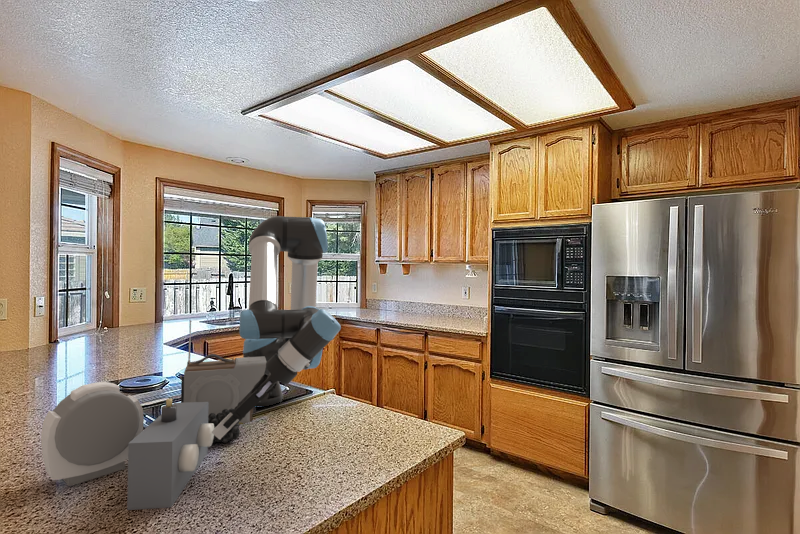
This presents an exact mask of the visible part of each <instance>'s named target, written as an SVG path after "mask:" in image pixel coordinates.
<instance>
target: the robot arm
mask: <svg viewBox="0 0 800 534" xmlns="http://www.w3.org/2000/svg"><path fill="white" fill-rule="evenodd" d="M248 240H249V241H248V251H249V253H250V255H251V262H250V276H249V277H250V281H249V293H248V295H249V297H248V298H249V300H248V309H246V310H245V309H244V310H241V311H240V313H239V335H240V337H241V339H243V340H244V341H243V348H242V349H243V350H242V354H243V357H242V358H244V357H261V356H265V358H266V361H267V362H266V368H265V373H264V375H263V376H262V377H261V379H260V381H259V382H258V383H257V384H256V385H255V386H254V388H253V389H252V390H251V391H250V392H249V393H248V394H247V395H246V396H245V397H244V398H243V400H242V401H241V402H239V403H238V406H236V407H235V409H234V410H233V409H232V408H231V409H230V413H229V414H228V415H227V416H226V417H225V418H224V419H223V420H222V421H221V422H220V423H219V424H218V425H217V426H216V427H215V428H214V429H213V431H212V432H211V433H212V434H214V435H215V436H216V437H217V438H218V439H219V440H220V439H221V438H222V437H223V436H224V435H225V434H226V433H227V432H228V431H229V430H230V429H231V428H232V427H233V426H234V425H235V424H236V423H237V422H238V421H239V420H242V418H244V417H245V416H246V414H247V413H248V412H249V411H250V410H251V409H252V408H253V407H254V406H269V405H273V404H276V403H279V402H280V403H282V402H283V400H284V399H283V397H284V396H283V391H282V388H281V384H283V385H288V384H290V383H291V382H292V381H293V380H294V379H295V378H296V377H297V376H298V373H299V372H301V371H303V370H306V371H307V370H308V369H309V370H310V369H316V368H317V367H319V365H320V363H321V360H322V355H323V349H324V348H325V347H326V346H327V345H328V344H329V343H330V342H331V341H333V340H334V339H335V337H336V336H337V335H338V333H340V331H341V329H342V327H341V326H342V325H341V323H339V322H338V320H337V319H336V318H335V317H334V316H333V315H332V314H331V313H330V312H329V311H327V310H326V309H324V308H320V309H319V308H318V307H316V306H317V290H318V289H317V287H318V268H319V267H318V263H319V262H320V261H321V260H322V259H323V254H326V253H327V252H328V244H329V243H328V233H327V228H326V223H325V221H324V220H323V219H321V218H317V217H308V216H307V217H306V216H283V215H276V216H271V217H269V218H266V219H265V220H263V221H262V222H260V224H258V225H257V226H256V228H255V229H254V230H253V232H252V233H251V235H250V237H249V239H248ZM280 252H287V258H288V259H289V260H290V261H291V284H290V289H291V290H290V291H291V292H290V309H278V307H279V305H278V299H279V297H278V296H279V295H278V255H280ZM280 383H281V384H280ZM282 399H283V400H282ZM280 403H279V404H280ZM276 405H277V404H276ZM273 406H274V405H273Z"/></svg>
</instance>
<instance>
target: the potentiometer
mask: <svg viewBox="0 0 800 534" xmlns="http://www.w3.org/2000/svg"><path fill="white" fill-rule="evenodd" d="M160 410H161V411H160V412H161V413H160V415H161V422H164V423H167V422H173V421H175V420H176V419H177V405H174V403H173V398H166V399H165V405H162V406H161V409H160Z"/></svg>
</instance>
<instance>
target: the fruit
mask: <svg viewBox="0 0 800 534" xmlns="http://www.w3.org/2000/svg"><path fill="white" fill-rule="evenodd" d="M233 410H234V409H233ZM229 413H230V409H229V410H227V409H224V410H222V413H218V414H217V415H215V414H214V413H211V414H209V416H208V423H213V424H214V428H215V427H216V426H217V425H218V424H219V423H220V422H221V421H222V420H223V419H224V418H225V417H226V416H227V415H228V414H229ZM239 421H241V420H239ZM239 421H238V422H237V423H236V424H235V425H234V426H233V427H232V428H231V429H230V430H229V431H228V432H227V433H226V434H225V435H224V436H223V437H222V438H221V439H220V440H219V439H218V438H217V437H216V436H215V435H214V438H213V442H212V443H215V442H216V443H220V442H221V443H223V444H227V443H228V442H229V441H233V440H234V441H236V440H237V439H239V437H240V431H241V429H240V428H239V427H240V426H241V425H244V423H240V422H239Z"/></svg>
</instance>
